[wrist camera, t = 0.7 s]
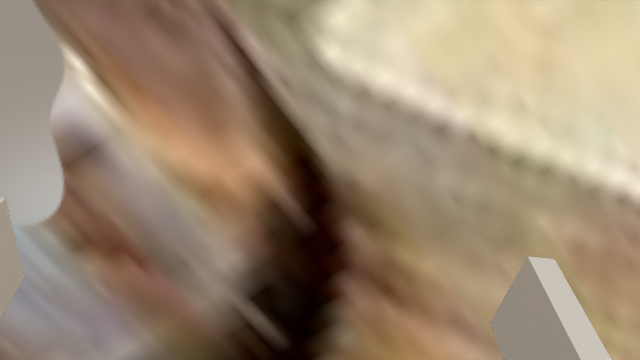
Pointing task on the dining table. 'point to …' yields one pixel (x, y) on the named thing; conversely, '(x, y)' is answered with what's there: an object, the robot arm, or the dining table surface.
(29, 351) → the dining table surface
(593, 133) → the dining table surface
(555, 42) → the dining table surface
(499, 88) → the dining table surface
